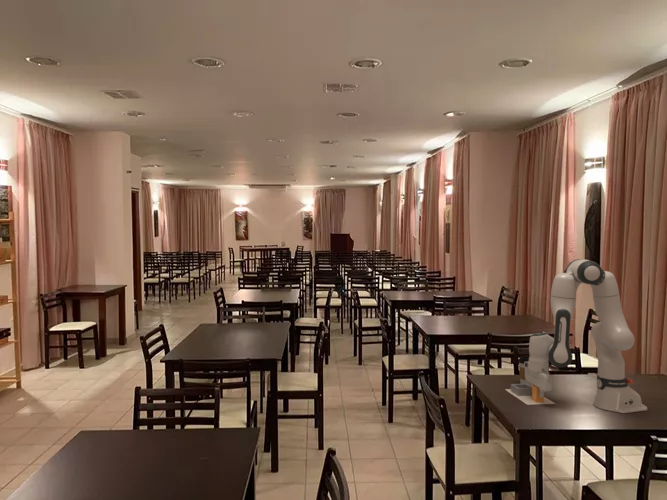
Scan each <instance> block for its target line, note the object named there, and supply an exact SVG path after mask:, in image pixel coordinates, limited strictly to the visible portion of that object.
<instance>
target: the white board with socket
mask: <svg viewBox="0 0 667 500" xmlns="http://www.w3.org/2000/svg"><path fill="white" fill-rule="evenodd" d="M504 390H505V391H506V392H508V393H509V394H511V395H512V396H514V397H515V398H517V399H518V400H520V401H521V402H523V403H524V404H526V405H527V406H529V405H532V406H533V405H553V404H554V405H555V404H556V403H555V402H554V401H552V400H550V399H549V398H547V397H545V396H544V402H535V401H534V400H532V386H530V385H528V384H520V383H510V388H509V389H507V388H505V389H504Z"/></svg>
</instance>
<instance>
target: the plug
mask: <svg viewBox="0 0 667 500" xmlns="http://www.w3.org/2000/svg"><path fill="white" fill-rule="evenodd" d="M531 387H532V400H534V401H535V402H544V397H545V396H544V397H539V393H540V388H538V387H537V386H535V385H532V386H531Z"/></svg>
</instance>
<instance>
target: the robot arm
mask: <svg viewBox="0 0 667 500" xmlns="http://www.w3.org/2000/svg"><path fill="white" fill-rule="evenodd" d="M582 284H585V285H590V288H591V291H592V299H593V305H594V312H595V314H596V316H597V317H598V319H599V321H598V322H595V323H594V324H593V325H592V327H591V330H590V335H591V337H592V338H593V340H594V345H595V349H596V354H597V375H596V393H595V397H594V398H595V399H594V401H593V406H595V407H596V408H599V409H601V410H605V411H610V412H616V413H620V414H629V413H635V412H636V413H638V412H645V411H648V406H646V405H645V404H643V403H642V397H641V395H640V394H639V393H638V392H637V391H635V390H634V389H633V388H631V386H629V385H633V383H634V381H633V380H632V379H630V378H626V376H625V373H626V372H625V370H626V369H625V367H626V366H625V365H626V362H625V359H624V357H623V355H622V351H628V350H630V349H632V347H634V345H635V341H636V339H635V336H634V334H633V332H632V331H631V330H630V327H629V325H628V323H627V320H626V317H625V316H624V312H623V308H622V302H621V297H620V296H621V295H620V289H619V284H618V282H617V279H616V277H615V274H614V273H612V272H611V271H608V270H604V269H602V267H601V266H600V265H599V264H598V263H597V262H595V261H593V260H591V259H590V260H589V259H580V258H579V259H574V260H572V261H570V263H569V264H567V266H566V268H565V269H564V271H563V272H560V273H557V274H555V276H554V278H553V281H552V286H551V290H550V310H551V314H552V317H553V320H554V332H553V333H554V334H553V336H551V335H549V334H548V333H547V332H535V333H533V334H532V335H531V336H530V337H529V343H528V345H529V346H528V352H529V356H528V357H529V361H528V362H524V366H525V379H526V380H527V381H528V382H530V383H532V385H535V386H537V387H538V388H540V393H539V397H545V392H552V391H553V378H552V377H553V376H551V374H550V371H549V368H550V367H549V362H550V363H551V364H552V365H553V366H554V367H556V368H566V367H569V365H571V363H572V361H573V353H572V351H571V348H570V334H571V333H570V330H571V323H572V319H573V316H574V312H575V310H576V309H575V307H576V303H577V291H578V288H579V287H580V285H582Z"/></svg>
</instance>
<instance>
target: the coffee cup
mask: <svg viewBox="0 0 667 500" xmlns="http://www.w3.org/2000/svg"><path fill="white" fill-rule="evenodd" d="M529 357H530V356H520V357H519V359H518V361H517V362H518V364H519V366H518V369H519V370H518V371H519V372H518V373H519V384H528V385H530V386H531V387H532V383H530V382H528V381H527V380H526V379H525V366H524V362H528V361H529Z"/></svg>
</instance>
